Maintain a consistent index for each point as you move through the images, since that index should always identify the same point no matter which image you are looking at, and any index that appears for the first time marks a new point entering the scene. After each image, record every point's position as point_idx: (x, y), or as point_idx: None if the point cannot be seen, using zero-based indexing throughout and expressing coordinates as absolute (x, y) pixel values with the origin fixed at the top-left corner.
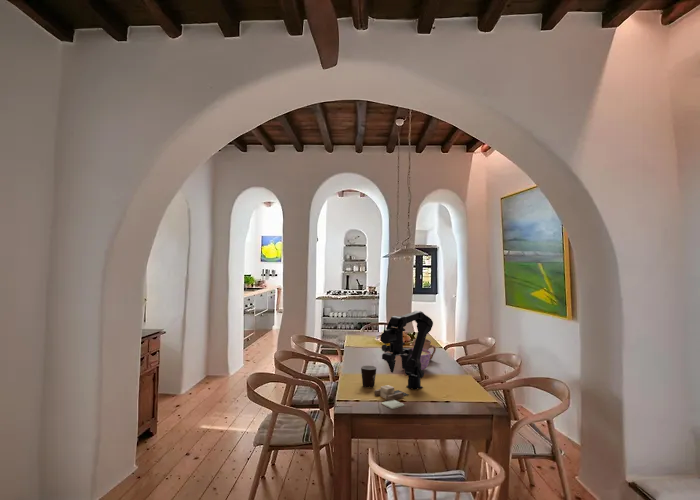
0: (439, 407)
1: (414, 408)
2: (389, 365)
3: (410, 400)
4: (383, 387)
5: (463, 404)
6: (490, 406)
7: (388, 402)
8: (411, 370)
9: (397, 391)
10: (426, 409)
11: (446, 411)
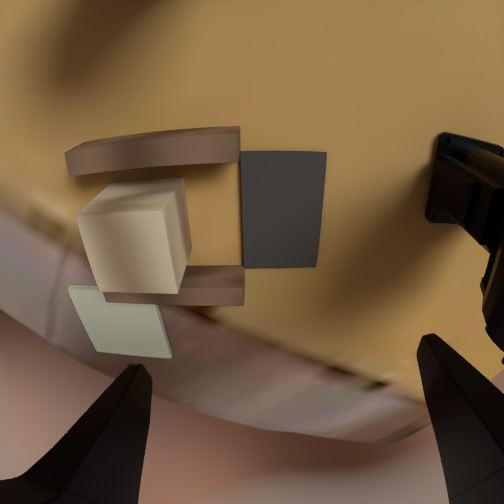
0: (296, 407)
1: (197, 382)
2: (69, 451)
3: (250, 327)
4: (90, 247)
5: (386, 409)
6: (415, 424)
7: (103, 307)
8: (499, 305)
9: (293, 177)
10: (236, 402)
11: (285, 425)
